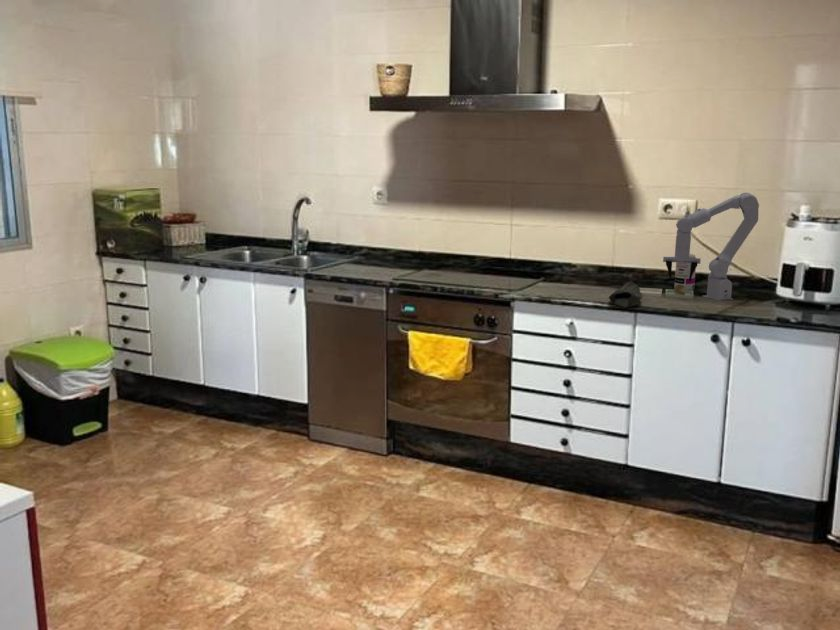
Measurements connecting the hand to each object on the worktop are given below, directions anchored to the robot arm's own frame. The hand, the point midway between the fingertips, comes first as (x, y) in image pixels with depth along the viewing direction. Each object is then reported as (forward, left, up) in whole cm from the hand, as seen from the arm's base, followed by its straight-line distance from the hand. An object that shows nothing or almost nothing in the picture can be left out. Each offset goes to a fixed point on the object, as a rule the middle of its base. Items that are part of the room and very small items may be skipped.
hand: (680, 280), depth 339 cm
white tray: (+8, +10, -7) cm, 14 cm away
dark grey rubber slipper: (-1, +26, -7) cm, 27 cm away
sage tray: (0, 0, -7) cm, 7 cm away
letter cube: (0, 0, -6) cm, 6 cm away
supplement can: (+12, -12, -7) cm, 19 cm away
